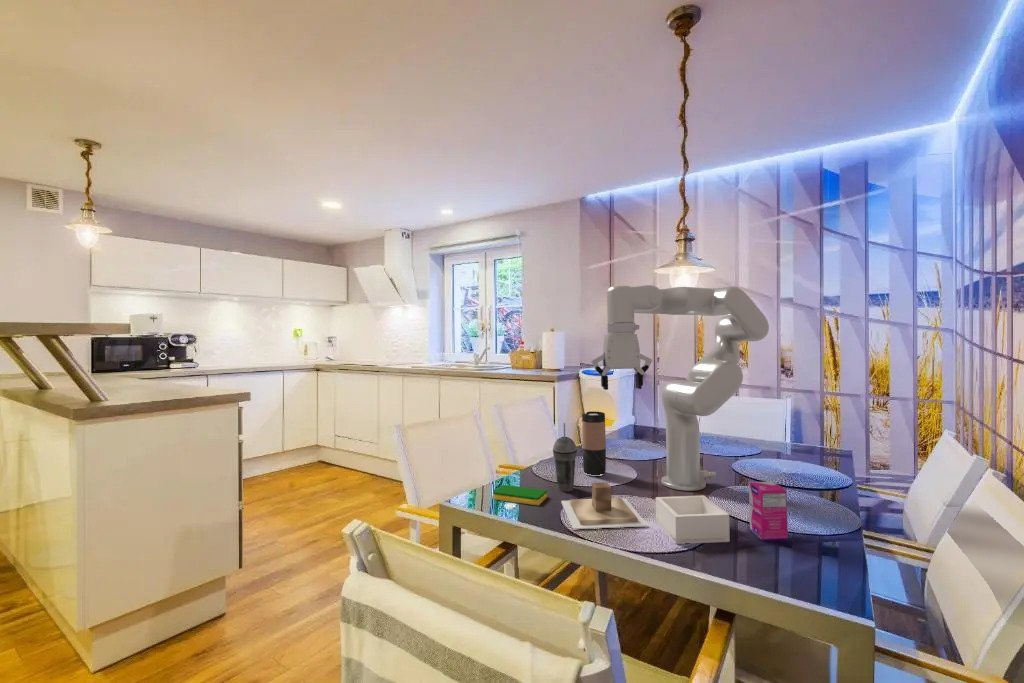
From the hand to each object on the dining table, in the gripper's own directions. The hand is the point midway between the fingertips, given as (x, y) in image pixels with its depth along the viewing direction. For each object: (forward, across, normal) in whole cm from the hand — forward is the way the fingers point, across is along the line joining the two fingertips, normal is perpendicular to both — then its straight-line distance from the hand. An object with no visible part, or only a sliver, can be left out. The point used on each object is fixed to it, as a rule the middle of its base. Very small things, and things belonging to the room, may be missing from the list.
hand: (622, 388), depth 131 cm
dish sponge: (+31, +30, 0) cm, 43 cm away
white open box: (+30, -8, +26) cm, 41 cm away
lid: (+30, +10, +14) cm, 34 cm away
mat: (+30, +10, +14) cm, 35 cm away
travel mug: (+31, +4, -20) cm, 37 cm away
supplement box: (+31, -24, +30) cm, 49 cm away
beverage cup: (+31, +16, -6) cm, 35 cm away
